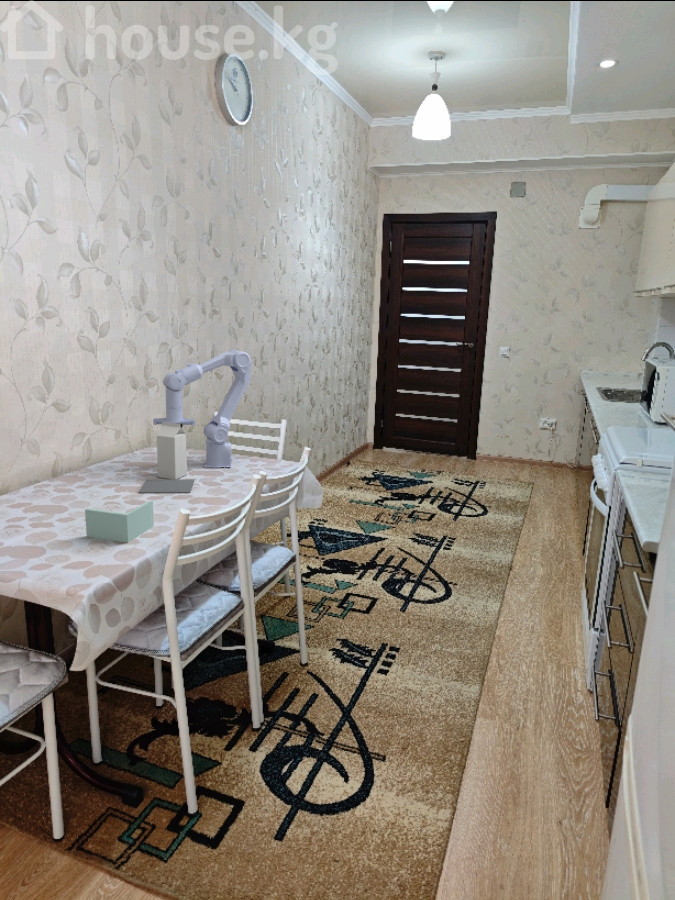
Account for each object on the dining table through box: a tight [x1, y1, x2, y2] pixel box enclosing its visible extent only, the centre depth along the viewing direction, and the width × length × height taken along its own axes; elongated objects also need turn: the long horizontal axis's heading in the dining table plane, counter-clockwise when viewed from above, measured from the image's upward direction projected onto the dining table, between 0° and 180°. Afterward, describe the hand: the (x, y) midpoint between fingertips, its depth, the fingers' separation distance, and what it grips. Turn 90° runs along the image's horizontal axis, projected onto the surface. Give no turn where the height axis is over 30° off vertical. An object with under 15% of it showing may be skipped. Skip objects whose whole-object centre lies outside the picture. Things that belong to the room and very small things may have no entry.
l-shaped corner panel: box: [84, 500, 155, 543], centre depth 156 cm, size 12×12×8 cm
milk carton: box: [156, 422, 188, 479], centre depth 205 cm, size 7×7×19 cm
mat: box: [137, 478, 195, 494], centre depth 195 cm, size 16×14×1 cm
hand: (175, 444), depth 213 cm, fingers closed
